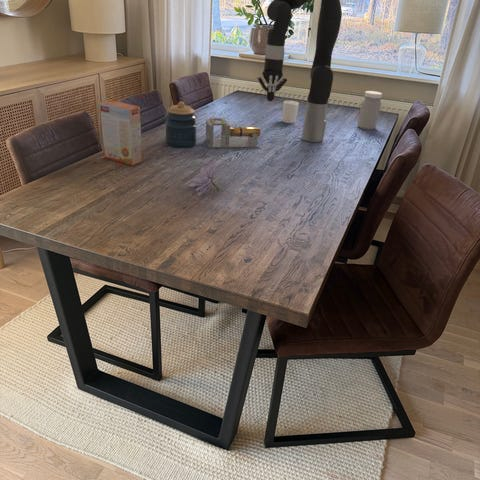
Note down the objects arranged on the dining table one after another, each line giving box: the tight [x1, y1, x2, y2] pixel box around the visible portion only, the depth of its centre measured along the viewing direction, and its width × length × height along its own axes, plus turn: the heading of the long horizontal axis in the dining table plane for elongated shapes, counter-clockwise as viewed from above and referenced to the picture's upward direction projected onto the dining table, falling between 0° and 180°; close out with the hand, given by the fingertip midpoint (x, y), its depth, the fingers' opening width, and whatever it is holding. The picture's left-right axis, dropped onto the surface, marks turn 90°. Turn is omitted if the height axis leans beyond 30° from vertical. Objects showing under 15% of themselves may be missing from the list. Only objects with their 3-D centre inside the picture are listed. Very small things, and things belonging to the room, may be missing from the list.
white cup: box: [282, 100, 300, 124], centre depth 229 cm, size 8×8×10 cm
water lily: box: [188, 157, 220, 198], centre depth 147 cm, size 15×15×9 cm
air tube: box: [229, 126, 261, 138], centre depth 191 cm, size 13×4×4 cm, turn 103°
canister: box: [164, 101, 197, 149], centre depth 184 cm, size 13×13×18 cm
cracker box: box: [99, 100, 143, 166], centre depth 161 cm, size 14×6×21 cm, turn 59°
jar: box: [356, 90, 383, 131], centre depth 228 cm, size 10×10×18 cm
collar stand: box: [204, 117, 260, 149], centre depth 190 cm, size 22×11×10 cm, turn 103°
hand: (269, 100), depth 187 cm, fingers closed
